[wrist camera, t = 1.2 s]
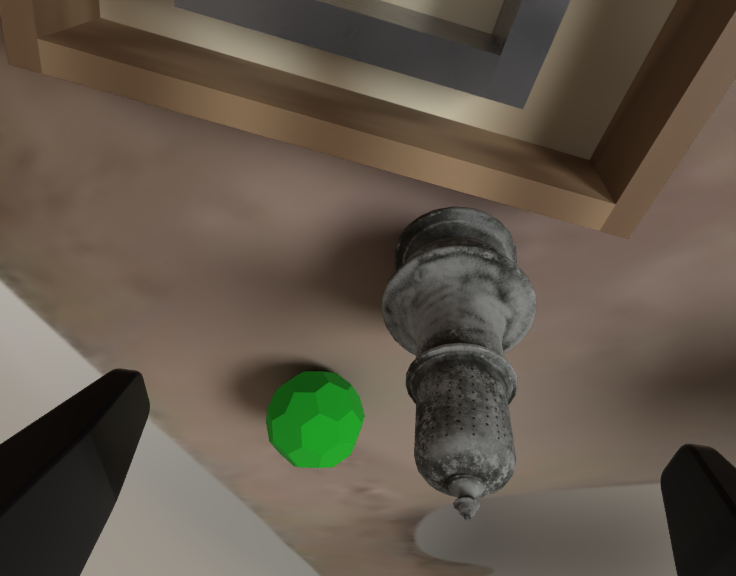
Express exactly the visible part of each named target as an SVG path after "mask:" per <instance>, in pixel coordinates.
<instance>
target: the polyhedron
mask: <svg viewBox="0 0 736 576" xmlns="http://www.w3.org/2000/svg"><path fill="white" fill-rule="evenodd" d="M364 417H365V415H364V412H363V408H362V404H361V400H360V397H359V396H358V394H357V393H356V391H355V389H354V388H353V386H352V385H351V384H350V383H348V382H347V381H346V380H344V379H343V378H342V377H340V376H339V375H338V374H337V373H330V372H323V371H304V372H301V373H299V374H298V375H296V376H295V377H293V378H292V379H290V380H289V381H287V382H286V383H284V384H283V385H282V386H280V387H279V388H278V389H277V390H276V391H275V393H274V395H273V398H272V400H271V402H270V404H269V406H268V409H267V418H266V424H267V430H268V436H269V442H270V443H271V444H272V445H273V446H274V447H275V449H276V450H277V451H278V452H279V453H280V454H281V455H282V456H283V457H284V458H285V459H287V460H288V461H289V462H290V463H291V464H292V465H293V466H295V467H307V468H326V467H334V466H335V465H337V464H338V463H340V462H341V461H342V460H344V459H345V458H347V457H348V456H349V455H351V453H352V451H353V448H354V446H355V444H356V441H357V438H358V435H359V433H360V430H361V427H362V424H363V420H364Z"/></svg>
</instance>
